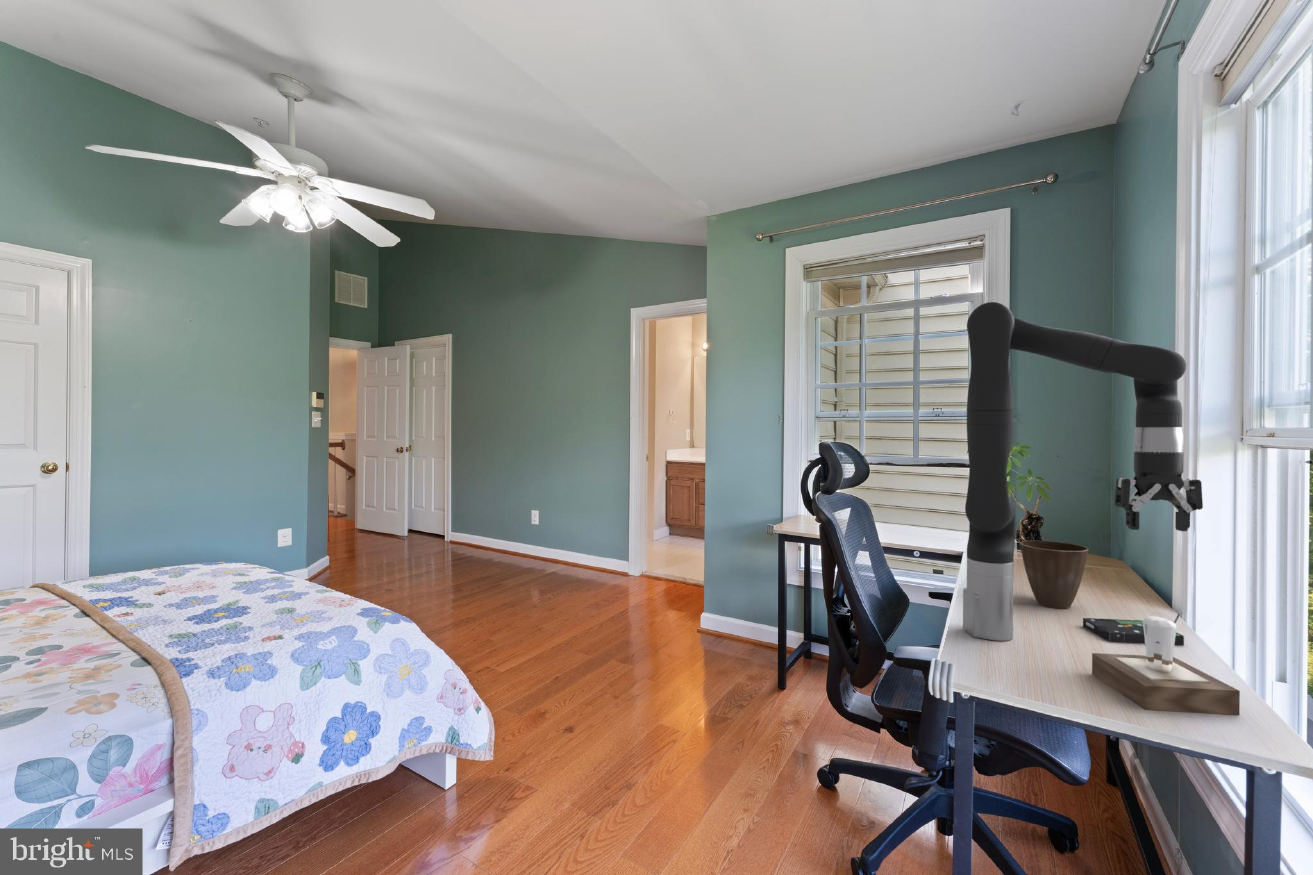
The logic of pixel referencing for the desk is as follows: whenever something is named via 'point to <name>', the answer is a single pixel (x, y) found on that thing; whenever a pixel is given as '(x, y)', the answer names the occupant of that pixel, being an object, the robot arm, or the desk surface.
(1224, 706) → the plinth
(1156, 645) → the milkshake
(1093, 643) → the desk surface
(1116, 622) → the disk drive
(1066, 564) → the plant pot
